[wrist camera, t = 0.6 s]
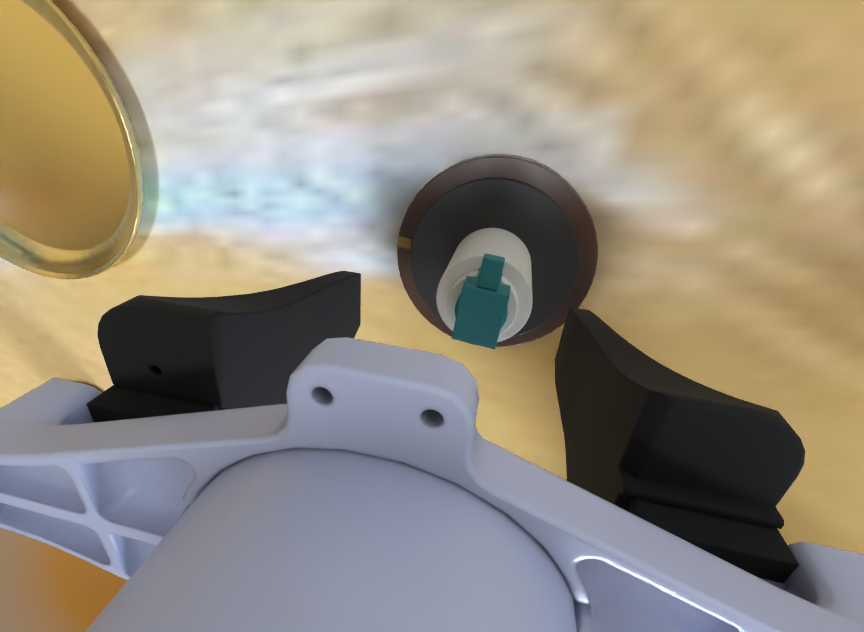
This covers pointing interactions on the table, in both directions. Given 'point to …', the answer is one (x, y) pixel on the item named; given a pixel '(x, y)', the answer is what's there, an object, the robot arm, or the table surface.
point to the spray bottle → (494, 259)
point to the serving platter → (62, 149)
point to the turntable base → (518, 171)
